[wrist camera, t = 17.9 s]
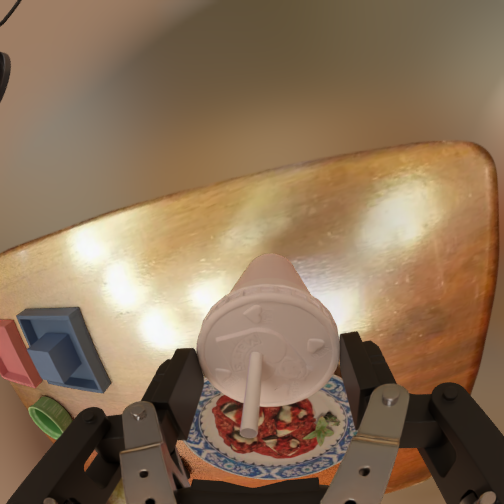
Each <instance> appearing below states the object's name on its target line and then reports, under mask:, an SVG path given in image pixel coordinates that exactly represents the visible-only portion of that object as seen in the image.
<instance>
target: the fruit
mask: <svg viewBox="0 0 504 504" xmlns="http://www.w3.org/2000/svg"><path fill="white" fill-rule="evenodd" d="M106 504H126V500H125V494H124V488H123V481H122V478H121V479H120V481H119V483H118V484H117V486H116V488H115V489H114V491H113V493H112V494H111V496H110V498H109V499H108V501H107V503H106Z"/></svg>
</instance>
